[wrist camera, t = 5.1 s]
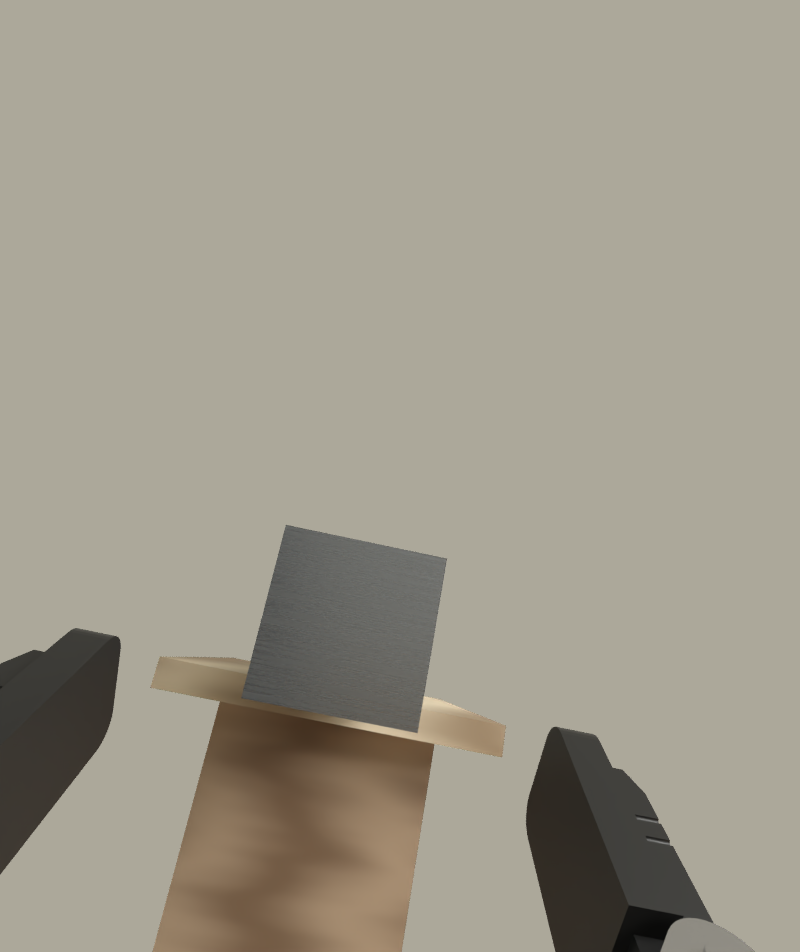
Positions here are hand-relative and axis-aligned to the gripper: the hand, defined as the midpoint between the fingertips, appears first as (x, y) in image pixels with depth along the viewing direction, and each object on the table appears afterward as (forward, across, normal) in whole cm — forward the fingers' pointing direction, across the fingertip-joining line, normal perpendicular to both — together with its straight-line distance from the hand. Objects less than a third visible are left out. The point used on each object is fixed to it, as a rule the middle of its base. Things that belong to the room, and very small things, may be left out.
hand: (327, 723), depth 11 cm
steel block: (+11, 0, +6) cm, 13 cm away
